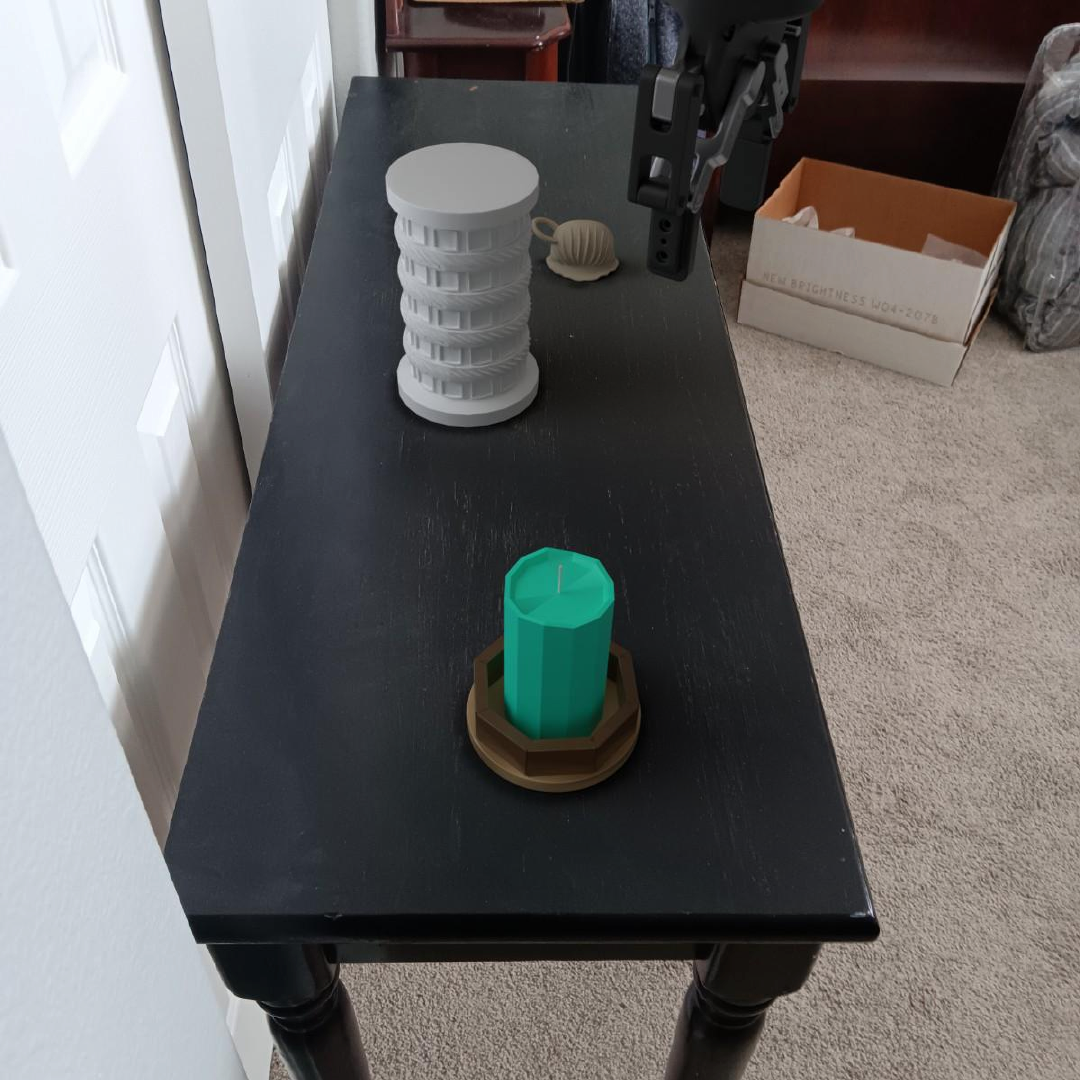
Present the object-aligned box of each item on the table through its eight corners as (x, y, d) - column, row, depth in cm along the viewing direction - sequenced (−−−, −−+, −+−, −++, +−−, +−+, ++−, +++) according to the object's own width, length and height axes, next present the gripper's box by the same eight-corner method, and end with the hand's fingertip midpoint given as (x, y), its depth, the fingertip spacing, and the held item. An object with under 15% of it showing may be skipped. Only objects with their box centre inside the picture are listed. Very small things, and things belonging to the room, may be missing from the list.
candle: (589, 759, 62) (602, 621, 53) (489, 733, 63) (487, 594, 54) (614, 679, 66) (630, 540, 57) (520, 656, 67) (522, 516, 58)
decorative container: (467, 446, 83) (460, 233, 70) (368, 383, 88) (345, 175, 76) (567, 383, 89) (577, 176, 76) (469, 327, 94) (463, 126, 82)
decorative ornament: (618, 283, 100) (623, 231, 96) (529, 279, 100) (530, 227, 97) (618, 261, 103) (622, 209, 99) (531, 257, 103) (532, 205, 99)
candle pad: (673, 712, 65) (680, 676, 63) (564, 826, 60) (566, 792, 57) (544, 625, 70) (545, 589, 68) (431, 723, 64) (427, 687, 62)
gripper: (773, -68, 38) (715, 325, 49) (899, -148, 47) (825, 202, 58) (588, -101, 41) (573, 279, 52) (740, -170, 49) (699, 168, 61)
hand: (706, 238), depth 55 cm, fingers open, 8 cm apart
